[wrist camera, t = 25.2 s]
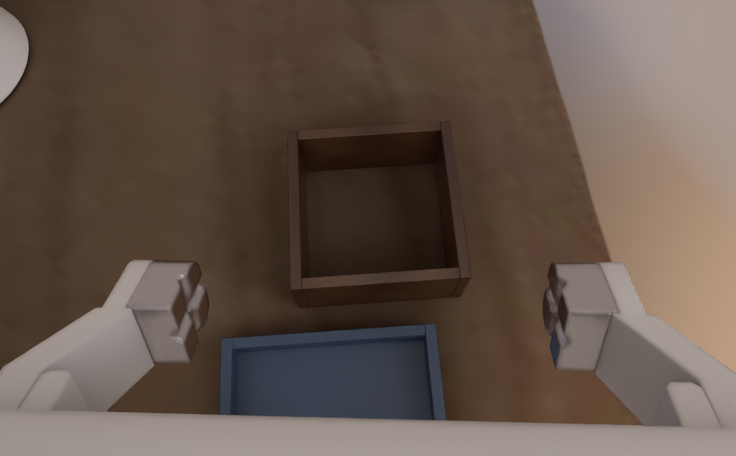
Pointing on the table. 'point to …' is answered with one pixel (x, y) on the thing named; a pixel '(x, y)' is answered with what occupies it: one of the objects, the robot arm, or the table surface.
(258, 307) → the table surface
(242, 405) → the tray
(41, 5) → the table surface
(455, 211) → the caddy
